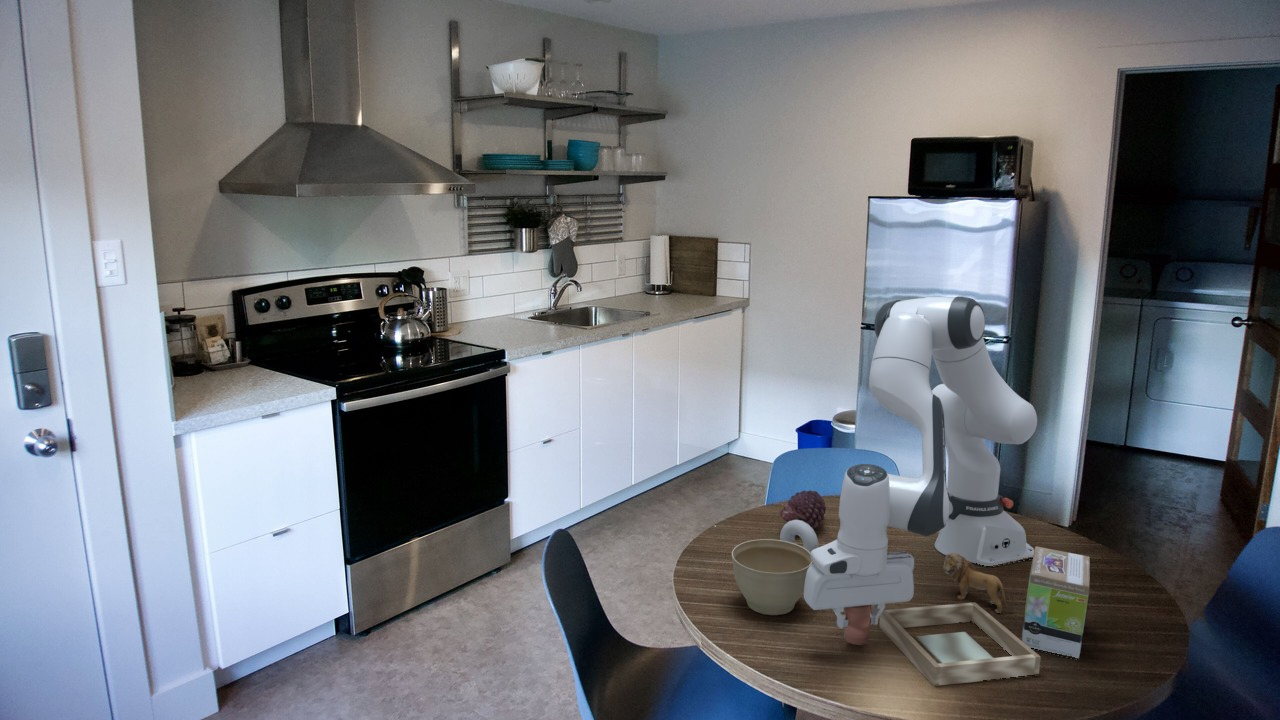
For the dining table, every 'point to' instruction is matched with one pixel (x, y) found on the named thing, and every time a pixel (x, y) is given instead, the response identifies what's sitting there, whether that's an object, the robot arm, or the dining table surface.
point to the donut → (799, 534)
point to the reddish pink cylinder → (857, 624)
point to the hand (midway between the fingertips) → (857, 625)
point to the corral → (958, 645)
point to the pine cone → (805, 508)
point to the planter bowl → (771, 574)
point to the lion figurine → (974, 579)
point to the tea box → (1056, 601)
